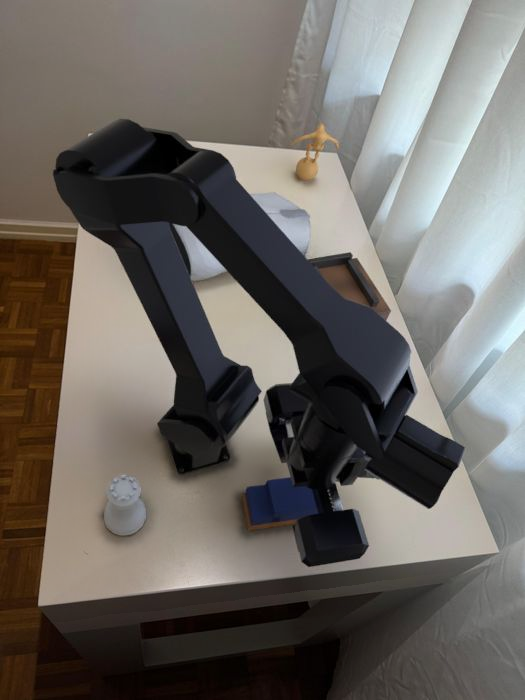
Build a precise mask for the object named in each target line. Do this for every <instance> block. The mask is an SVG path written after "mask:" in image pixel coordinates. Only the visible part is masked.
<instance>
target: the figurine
mask: <svg viewBox="0 0 525 700" xmlns="http://www.w3.org/2000/svg"><path fill="white" fill-rule="evenodd" d="M325 129H326V128H325V125H324V124H323V123H320V124H319V125H318V126H317V128H316V130H315V131H314V132H311V133H309V134H305V135H302V136H300V137H298V138H296V139H295V140H293V141H292V143H291V144H290V147H292V146H293V145H295V143H298V142H300V141H302V140H307V139H312V142H309V143H308V144H307V145H306V148H305V149H306V151H305V156H304V157H301V158H300V159H299V160H298V161H297V163H296V165H295V172H296V176H298V178H299V179H301V180H303V181H311V180H312V179H314V178H316V176H317V174H318V172H319V165H318V162H317V160H318V158H319V157H320V154H319V153H320V152H321V151H323V150H324V147H325V145H324V143H325V142H326V141H329V142H331V143H333V144H334V147H335V150H336V151H339V149H340V148H339V147H340V146H339V143H338V140H337V139H335V138H334V137H332V136H331V135H330V134H328V133H327V132H326V130H325ZM313 150H314V151H315V154H314V158H313V157H310V156H311V153H310V151H313Z"/></svg>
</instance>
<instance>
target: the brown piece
mask: <svg viewBox="0 0 525 700" xmlns="http://www.w3.org/2000/svg"><path fill="white" fill-rule="evenodd" d="M307 260H308V261H309V262H310V263H311V264H312V265H313V267H314V268H315V269H316V270H317V271H318V272H319V273H320V275H321V276H322V277H323V278H324V279H325V280H326V281H327V282H328V284H329V285H330V286H331V287H332V288H333V289H334V290H335V291H336V292H338V293H339V294H340V295H341V296H342V297H343V298H345V299H348V300H351V301H354V302H357V303H360V304H363V305H366V306H369V307H371V308H372V309H373V310H374V311H375V312H377V313H378V314H379V315H380V316H381V317H382V318H383V319H385V320H386V321H387V320H388V318H389V316H390V314H391V312H392V309H391V308H390V307H389V305H388V303H387V302H386V300H385V299H384V297H383V296H382V294H381V293H380V291H379V289H378V288H377V286H376V285H375V284H374V282H373V280H372V279H371V277H370V275H369V274H368V273H367V271H366V269H365V268H364V267H363V265H362V263H361V262H360V260H359V259H358V257H354V255H353V253H352V252H350V251H349V252H342V253H336V254H331V255H325V256H319V257H312V258H307Z"/></svg>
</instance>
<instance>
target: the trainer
mask: <svg viewBox="0 0 525 700" xmlns="http://www.w3.org/2000/svg"><path fill="white" fill-rule="evenodd" d="M241 501H242V507H243V513H244V516H245V522H246V523H245V524H246V527H247V531H248V532H249V531H256V530H261V529H262V530H263V529H269V528H276V527H277V528H278V527H284V526H289V525H295V523H296V521H297V520H298V519H301V518H303V517H305V516H308V515H312V514H318V511H317V507H316V503H315V499H314V496H313V492H312V489H309V488H306V487H305V486H301V487H293V486H292V482H291V478H290V476H289V477H282V478H274V479H267V480H266V483H265V484H260V485H252V486H247V487H246V490H245V492H242V494H241Z"/></svg>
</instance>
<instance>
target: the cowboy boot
mask: <svg viewBox="0 0 525 700" xmlns="http://www.w3.org/2000/svg"><path fill="white" fill-rule="evenodd" d="M249 194H250V195H251V197H252V198H253V199H254V200H255V201H256V202H257V203H258V204H259V206H260V207H261V208H262V209H263V210H264V211H265V212H266V214H267V215H268V216H269V217H270V218H271V219H272V220H273V221H274V223H275V224H276V225H277V226H278V227H279V228H280V229H281V230H282V232H283V233H284V234H285V235H286V236H287V237H288V238H289V239H290V241H291V242H292V243H293V244H294V245H295V246H296V247H297V249H298V250H299V251H300V252H301V253H302V254H303V255H304V256H305V257H306V254H307V252H308V250H309V246H310V243H311V242H310V241H311V236H312V235H311V234H312V225H311V220H310V219H311V215H310V214H309V213H308V212H307V211H306V209H304V208H300V207H299V206H298V205H296V204H295V203H294V202H293V201H291V200H290V199H287V198H286V197H284V196H282V195H280V194H279V193H277V192H273V191H272V192H261V193H249ZM169 225H170V230H171V233H172V235H173V237H174V240H175V242H176V244H177V247H178V249H179V252H180V254H181V256H182V259H183V261H184V264H185V266H186V268H187V271H188V273H189V275H190V278H191V280H192V282H193V281H195V282H196V281H203V280H204V281H205V280H207V279H211V278H214V277H215V276H218V275H220V274H224V273H226V272H227V273H228V271H227V270H226V269H225V268H224V267H223V266H222V265H221V264H220V263H219V262H218V260H217V259H216V258H215V257H214V256H213V255H212V254H211V253H210V252H209V251H208V250H207V249H206V247H205V246H204V245H203V244H202V243H201V242H200V241H199V240H198V239H197V238H196V237H195V236H194V234H193V233H192V232H191V231H190V230H189V229H188V228H187V227H186V226H180V225H176V224H172V223H170V224H169Z"/></svg>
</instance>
